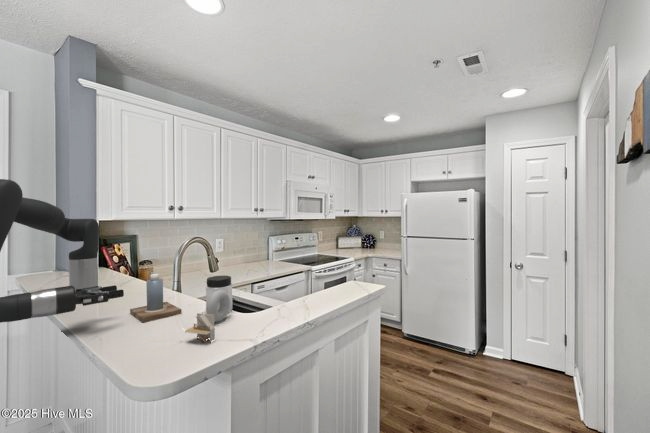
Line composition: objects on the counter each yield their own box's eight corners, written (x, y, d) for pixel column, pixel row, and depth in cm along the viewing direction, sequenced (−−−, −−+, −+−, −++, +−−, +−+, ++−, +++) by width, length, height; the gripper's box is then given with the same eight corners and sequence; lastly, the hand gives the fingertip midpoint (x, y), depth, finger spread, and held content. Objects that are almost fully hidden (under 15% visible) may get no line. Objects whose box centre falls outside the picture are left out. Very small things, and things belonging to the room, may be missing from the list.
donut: (213, 327, 93) (212, 294, 93) (203, 326, 94) (203, 293, 94) (232, 316, 102) (231, 286, 102) (223, 315, 103) (223, 286, 103)
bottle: (145, 308, 107) (144, 274, 107) (160, 305, 110) (159, 272, 110) (149, 311, 103) (148, 276, 103) (165, 308, 107) (164, 274, 107)
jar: (212, 308, 112) (211, 275, 112) (234, 307, 113) (233, 274, 113) (203, 316, 103) (202, 280, 103) (227, 315, 104) (227, 280, 104)
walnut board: (130, 313, 107) (130, 308, 107) (166, 305, 116) (166, 301, 116) (142, 322, 98) (142, 317, 98) (181, 313, 106) (181, 308, 106)
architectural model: (207, 347, 80) (206, 319, 80) (185, 344, 82) (184, 316, 82) (215, 342, 83) (214, 314, 83) (194, 339, 85) (193, 312, 85)
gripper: (55, 292, 82) (125, 282, 94) (50, 284, 92) (114, 276, 104) (56, 320, 82) (126, 306, 94) (50, 309, 92) (114, 298, 104)
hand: (119, 290), depth 99 cm, fingers open, 8 cm apart
